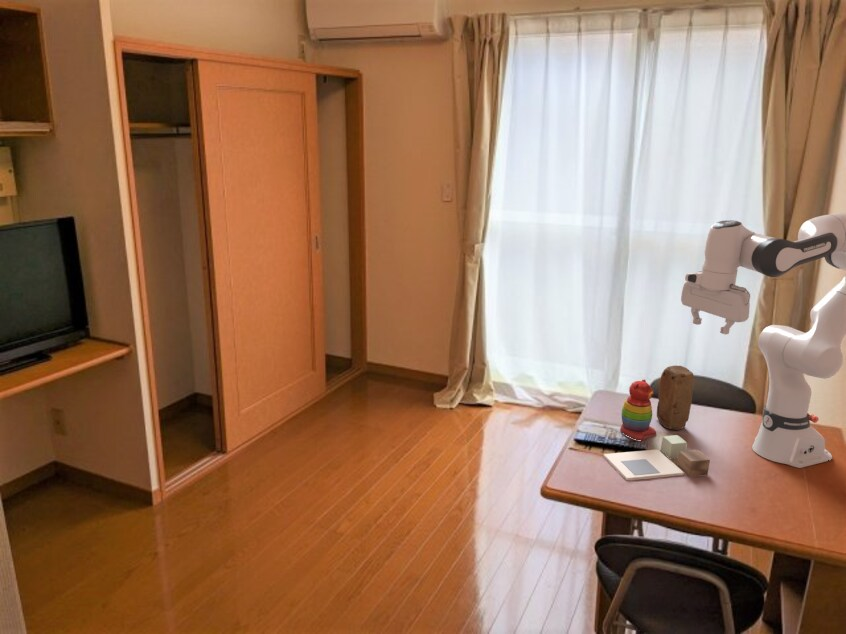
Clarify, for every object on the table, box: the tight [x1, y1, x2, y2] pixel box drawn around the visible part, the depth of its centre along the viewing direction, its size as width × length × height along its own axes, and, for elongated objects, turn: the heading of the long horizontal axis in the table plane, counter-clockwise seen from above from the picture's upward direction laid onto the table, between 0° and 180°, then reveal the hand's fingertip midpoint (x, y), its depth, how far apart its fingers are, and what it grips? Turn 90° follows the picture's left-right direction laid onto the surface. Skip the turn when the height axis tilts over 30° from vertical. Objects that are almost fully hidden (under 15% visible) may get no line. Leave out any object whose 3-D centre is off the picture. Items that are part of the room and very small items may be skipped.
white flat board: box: [602, 449, 685, 482], centre depth 195 cm, size 18×14×1 cm
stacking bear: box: [619, 379, 657, 442], centre depth 213 cm, size 11×10×18 cm
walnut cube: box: [676, 449, 711, 478], centre depth 193 cm, size 6×6×5 cm
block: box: [656, 365, 695, 431], centre depth 220 cm, size 11×8×20 cm
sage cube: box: [660, 434, 688, 459], centre depth 202 cm, size 5×5×5 cm
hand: (710, 328), depth 186 cm, fingers open, 8 cm apart
